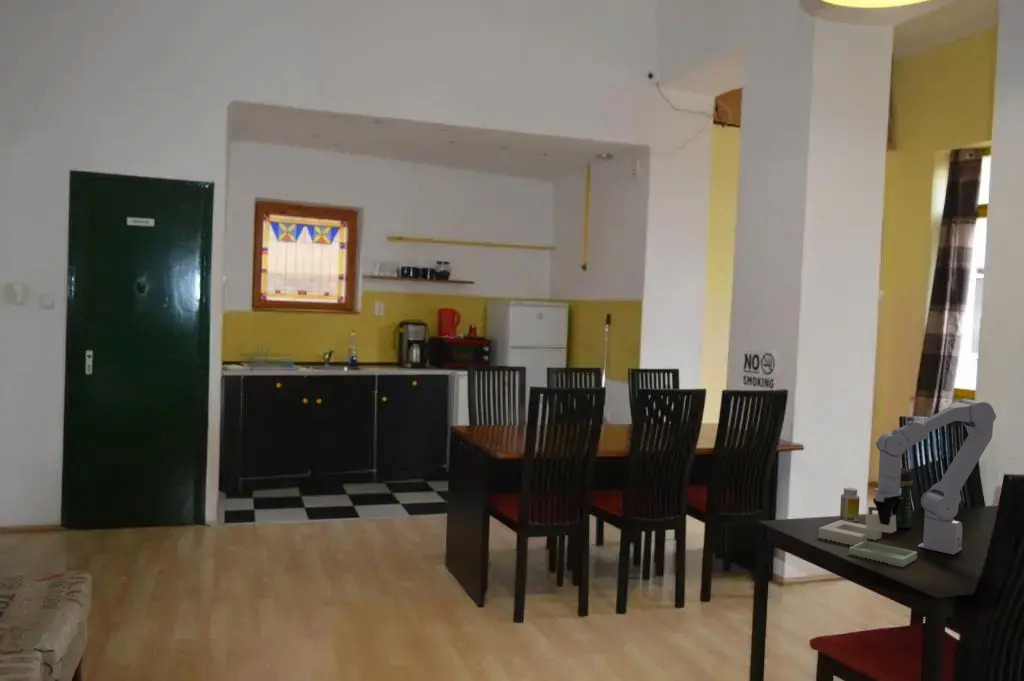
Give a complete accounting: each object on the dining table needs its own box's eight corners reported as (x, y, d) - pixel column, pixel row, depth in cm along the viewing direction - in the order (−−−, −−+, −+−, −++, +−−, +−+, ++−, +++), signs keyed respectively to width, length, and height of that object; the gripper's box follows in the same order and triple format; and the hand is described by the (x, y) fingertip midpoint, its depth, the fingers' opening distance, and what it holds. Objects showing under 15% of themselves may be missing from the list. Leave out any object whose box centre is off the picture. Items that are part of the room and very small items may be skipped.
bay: (881, 538, 240) (881, 528, 239) (861, 547, 229) (861, 537, 229) (839, 529, 248) (840, 519, 248) (818, 537, 238) (819, 527, 237)
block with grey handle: (896, 530, 231) (895, 507, 231) (891, 533, 228) (890, 510, 229) (871, 527, 236) (870, 505, 236) (866, 530, 233) (865, 507, 234)
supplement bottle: (861, 520, 260) (863, 489, 260) (853, 523, 257) (854, 491, 256) (845, 517, 265) (846, 486, 264) (836, 519, 261) (838, 488, 261)
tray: (916, 559, 219) (917, 551, 219) (902, 567, 211) (902, 559, 211) (864, 547, 229) (865, 540, 229) (848, 554, 221) (849, 547, 221)
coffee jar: (914, 526, 255) (917, 468, 255) (904, 530, 250) (908, 471, 249) (883, 520, 262) (885, 463, 262) (873, 524, 257) (876, 466, 256)
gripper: (884, 470, 239) (882, 516, 239) (865, 476, 228) (863, 524, 229) (909, 474, 234) (907, 520, 234) (891, 480, 223) (889, 529, 224)
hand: (887, 522), depth 231 cm, fingers closed on block with grey handle, 4 cm apart
